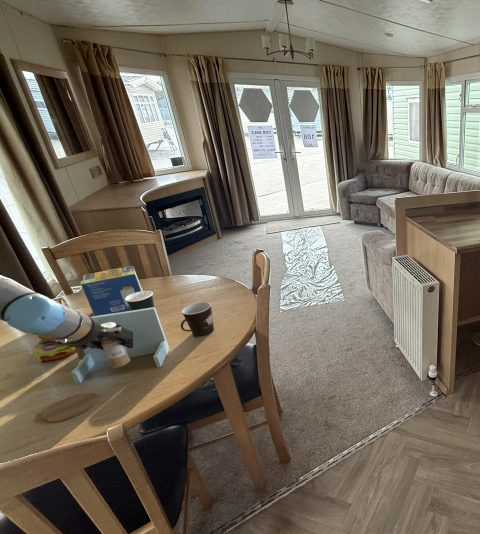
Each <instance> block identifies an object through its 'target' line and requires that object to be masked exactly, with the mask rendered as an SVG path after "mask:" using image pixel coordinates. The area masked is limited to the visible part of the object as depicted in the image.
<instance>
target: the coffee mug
mask: <svg viewBox="0 0 480 534" xmlns="http://www.w3.org/2000/svg"><path fill="white" fill-rule="evenodd" d="M181 313H182V316H183V317H184V319H183V320H182V321H181V322H180V329H181V330H182V331H184V332H191V333H192V335H193V336H194V337H196V338H201V337H202V338H203V337H206V336H208V335H211V334H212V333H213V332H214V331H215V325H214V318H213V317H214V316H213V310H212V304H211V303H210V302H208V301H199V302H193V303H191V304H188V305H186V306H185V307H184V308H182V309H181ZM185 323H187V325H188V327H189V329H186V328H184V324H185Z"/></svg>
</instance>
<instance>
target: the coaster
mask: <svg viewBox="0 0 480 534" xmlns="http://www.w3.org/2000/svg"><path fill="white" fill-rule="evenodd" d="M98 399H99V396H98V395H97V394H96V393H94V392H90V391H88V392H81V393H77V394H73V395H69V396H68V397H66V398H63V399H61V400H59V401H57V402H56V403H55V404H53V405H52V406H50V407H49V408H48V409H47V410H46V411H45V413H44V415H43V419H44V421H45V422H47V423H61V422H65V421H68V420H71V419H74V418H76V417H78V416H80V415H82V414H84V413H85V412H87V411H89V409H91V408H93V406H95V404H96V403H97V402H98Z"/></svg>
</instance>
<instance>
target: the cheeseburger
mask: <svg viewBox="0 0 480 534" xmlns="http://www.w3.org/2000/svg"><path fill="white" fill-rule="evenodd" d="M38 339H40V340H39V341H38V344H36V345H35V348H34V359H35V361H36V362H39V363H42V362H44V361H45V362H46V361H53V360H58V359H62V358H66V357H67V356H70V355H72V354H74V353H75V352H77V350H76V348H74V347H71V346H67V345H61V344H56V340H53V339H49V338H46V337H42V336H39V335H38Z"/></svg>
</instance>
